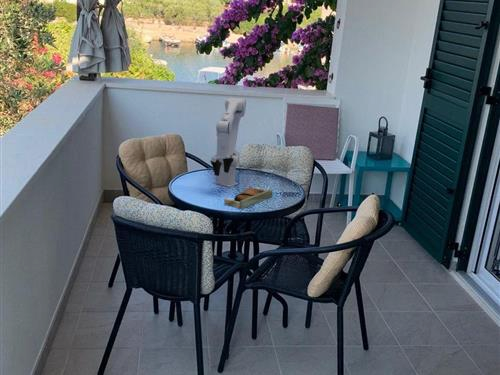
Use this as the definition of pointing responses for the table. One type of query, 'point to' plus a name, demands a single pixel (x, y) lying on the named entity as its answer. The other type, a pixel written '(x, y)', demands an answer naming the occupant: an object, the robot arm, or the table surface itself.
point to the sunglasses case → (246, 194)
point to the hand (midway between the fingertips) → (221, 173)
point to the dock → (250, 199)
